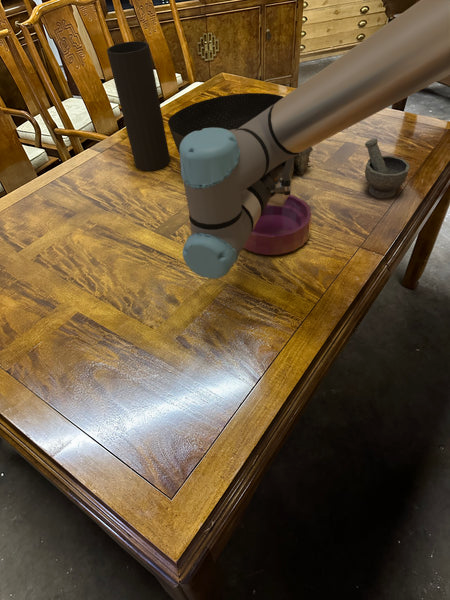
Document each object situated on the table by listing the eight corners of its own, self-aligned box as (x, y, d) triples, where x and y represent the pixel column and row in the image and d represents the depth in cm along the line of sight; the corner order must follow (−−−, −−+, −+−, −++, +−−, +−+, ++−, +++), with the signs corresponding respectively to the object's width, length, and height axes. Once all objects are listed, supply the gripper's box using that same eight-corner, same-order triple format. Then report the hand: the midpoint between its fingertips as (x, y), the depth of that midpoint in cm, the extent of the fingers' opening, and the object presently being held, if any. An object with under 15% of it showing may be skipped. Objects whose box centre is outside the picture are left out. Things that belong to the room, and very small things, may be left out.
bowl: (322, 225, 94) (324, 204, 90) (286, 267, 85) (286, 245, 81) (259, 206, 102) (259, 185, 98) (220, 242, 93) (218, 222, 89)
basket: (287, 212, 99) (289, 146, 88) (161, 189, 111) (148, 128, 100) (320, 157, 117) (325, 96, 105) (208, 142, 129) (202, 86, 117)
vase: (159, 173, 118) (134, 54, 96) (129, 169, 121) (98, 53, 100) (176, 156, 124) (156, 41, 103) (146, 153, 127) (121, 40, 106)
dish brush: (290, 193, 88) (293, 118, 77) (283, 207, 84) (285, 131, 73) (261, 190, 90) (259, 116, 79) (253, 203, 86) (250, 128, 75)
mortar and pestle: (410, 189, 102) (423, 141, 93) (391, 206, 97) (403, 158, 89) (368, 175, 108) (377, 129, 99) (349, 191, 103) (356, 144, 95)
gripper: (200, 218, 74) (244, 156, 89) (285, 231, 69) (317, 163, 84) (194, 179, 68) (242, 121, 83) (286, 190, 64) (320, 126, 79)
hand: (280, 142), depth 84 cm, fingers closed on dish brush, 2 cm apart
